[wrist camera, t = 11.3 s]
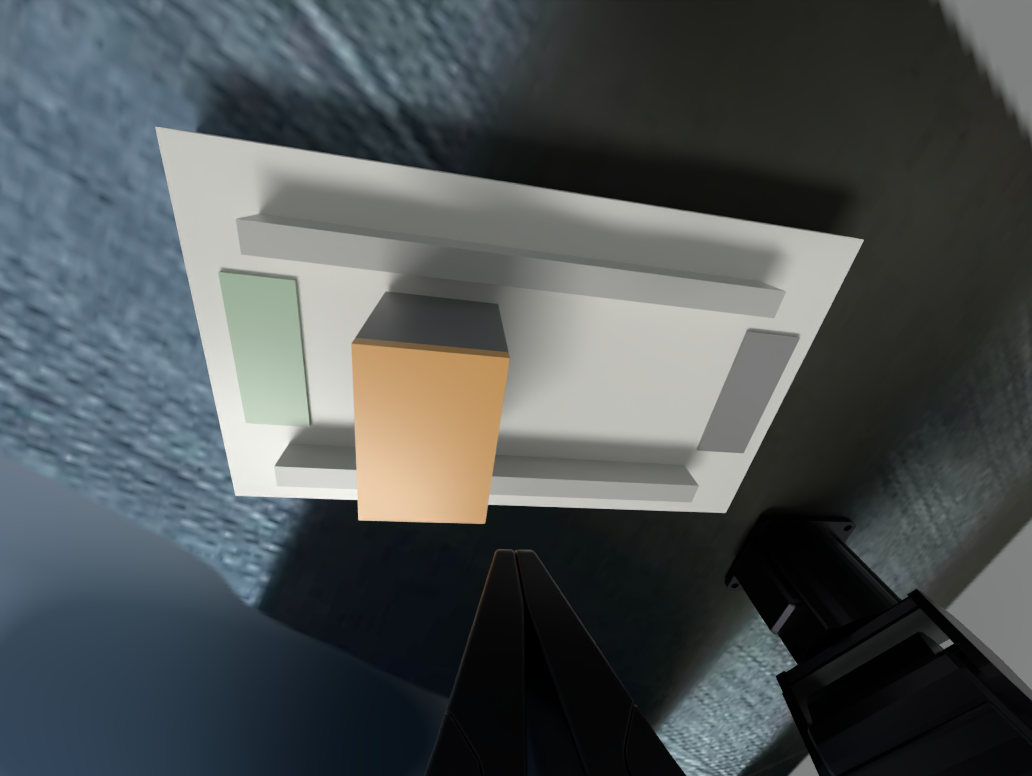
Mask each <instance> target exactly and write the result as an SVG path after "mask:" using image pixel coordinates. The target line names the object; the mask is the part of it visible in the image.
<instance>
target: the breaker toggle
mask: <svg viewBox="0 0 1032 776" xmlns="http://www.w3.org/2000/svg"><path fill="white" fill-rule="evenodd" d="M351 348H352V373H353V397H354V422H355V446H356V471H357V495H358V520H368V521H404V522H440V523H476V524H485V520H486V514H487V507H488V500H489V494H490V487H491V480H492V474H493V467H494V461H495V454H496V447H497V441H498V434H499V427H500V421H501V414H502V407H503V401H504V394H505V387H506V381H507V374H508V367H509V361H510V356H509V352H508V347H507V343H506V338H505V334H504V329H503V324H502V320H501V315H500V311H499V306H498V304H494V303H485V302H477V301H468V300H459V299H450V298H441V297H432V296H423V295H414V294H405V293H397V292H388V291H385V293H384V295H383V296H382V298H381V299H380V301H379V302H378V304H377V305H376V307H375V308H374V310H373V311H372V313H371V314H370V316H369V317H368V319H367V320H366V322H365V324H364V325H363V327H362V328H361V330H360V331H359V333H358V334H357V336H356V337H355V339H354V340H353V342H352V343H351Z"/></svg>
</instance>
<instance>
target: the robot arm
mask: <svg viewBox="0 0 1032 776" xmlns="http://www.w3.org/2000/svg"><path fill="white" fill-rule="evenodd" d="M855 526H856V525H855V523H854V522H853V521H852V520H850V519H849V518H845V517H816V516H788V515H766V516H763V517H762V518H760V520H759V521H758V523H757V524H756V526H755V528H754V530H753V531H752V533H751V535H750V537H749V539H748V540H747V542H746V544H745V546H744V547H743V549H742V551H741V553H740V555H739V556H738V558H737V560H736V562H735V564H734V565H733V567H732V569H731V571H730V572H729V574H728V576H727V578H726V580H725V585H726V586H727V588H728V589H729V590H732V591H745V592H746V594H747V595H748V597H749V599H750V600H751V602H752V603H753V605H754V606H755V608H756V609H757V611H758V612H759V614H760V615H761V617H762V619H763V620H764V622H765V623H766V625H767V626H768V628H769V629H770V631H771V632H772V633H773V634H778V635H779V637H780V638H781V640H782V641H783V643H784V644H785V646H786V647H787V649H788V650H789V652H790V653H791V655H792V656H793V658H794V660H795V661H796V663H797V664H798V665H797V666H795V667H794V668H792V669H790V670H789V671H787V672H785V671H783V672H782V673H780V674H778V675H777V676H776V678H777V680H778V683H779V685H780V687H781V689H782V692H783V693H782V694H783V697H784V699H785V701H786V703H787V705H788V708H789V710H790V712H791V714H792V717H793V719H794V721H795V723H796V725H797V728H798V730H799V732H800V734H801V736H802V739H803V741H804V743H805V745H806V748H807V750H808V752H809V754H810V756H811V759H812V761H813V763H814V765H815V767H816V770H817V772H818V774H819V776H1032V690H1031V689H1030V688H1029V687H1028V686H1027V685H1026V684H1025V683H1024V682H1023V681H1022V680H1021V679H1020V678H1019V677H1018V676H1017V675H1016V674H1015V673H1014V672H1013V671H1012V670H1011V669H1010V668H1009V667H1008V666H1007V665H1006V664H1005V663H1004V662H1003V661H1002V660H1001V659H1000V658H999V657H998V656H997V655H996V654H995V653H994V652H993V651H992V650H990V649H989V648H988V647H987V646H986V645H985V644H984V643H983V642H982V641H981V640H980V639H978V638H977V637H976V636H975V635H974V634H973V633H972V632H971V631H970V630H968V629H967V628H966V627H965V626H964V625H963V624H962V623H961V622H959V621H958V620H957V619H956V618H955V617H954V616H953V615H951V614H950V613H949V612H947V611H946V610H945V609H943V608H942V607H941V606H939V605H938V604H937V603H935V602H934V601H933V600H931V599H930V598H929V597H927V596H926V595H925V594H923V593H922V592H921V591H919V590H918V589H915V590H913V591H912V592H910V593H909V594H907V595H908V597H907V598H905V599H903V600H901V599H900V598H899V597H898V596H897V595H896V594H895V593H894V592H893V591H892V590H891V589H890V588H889V587H888V586H887V585H886V584H885V583H884V582H883V581H882V580H881V579H880V578H879V577H878V576H877V575H876V574H875V573H874V572H873V571H872V570H871V569H870V568H869V567H868V566H867V565H866V564H865V563H864V562H863V561H862V560H861V559H860V558H859V557H858V556H857V555H856V554H855V553H854V552H853V551H852V550H851V549H850V548H849V547H848V546H847V545H846V544H845V543H844V542H845V541H846V540H847V538H848V537H849V535H850V534H851V533H852V531H853V530H854V528H855ZM948 639H950V640H951V641H952V642H953V643H954V644H953V645H951V646H949V647H947V648H946V649H943V648H942V647H941V646H940V645H939V644H941V643H943V642H945V641H947V640H948ZM633 704H634V701H633V699H632V698H631V696H630V695H629V693H628V691H627V690H626V688H625V687H624V685H623V684H622V682H621V681H620V679H619V678H618V676H617V675H616V673H615V672H614V670H613V669H612V667H611V666H610V664H609V663H608V661H607V660H606V658H605V657H604V655H603V654H602V652H601V651H600V649H599V648H598V646H597V645H596V643H595V642H594V640H593V639H592V637H591V636H590V634H589V633H588V631H587V630H586V628H585V627H584V625H583V624H582V622H581V621H580V619H579V618H578V616H577V615H576V613H575V612H574V610H573V609H572V607H571V606H570V604H569V603H568V601H567V600H566V598H565V597H564V595H563V594H562V592H561V591H560V589H559V588H558V586H557V585H556V583H555V582H554V580H553V579H552V577H551V576H550V574H549V573H548V571H547V570H546V568H545V567H544V565H543V564H542V562H541V561H540V559H539V558H538V556H537V555H536V553H535V552H534V551H532V550H516V551H515V552H514V551H513V550H503V549H498V550H496V552H495V554H494V558H493V561H492V564H491V567H490V570H489V574H488V577H487V580H486V583H485V586H484V590H483V593H482V596H481V599H480V603H479V606H478V609H477V612H476V615H475V619H474V622H473V625H472V628H471V631H470V635H469V638H468V641H467V644H466V648H465V651H464V654H463V657H462V660H461V664H460V667H459V670H458V673H457V676H456V680H455V683H454V686H453V689H452V693H451V696H450V699H449V702H448V705H447V709H446V714H445V715H444V717H443V721H442V724H441V727H440V730H439V734H438V737H437V740H436V743H435V746H434V749H433V752H432V754H431V758H430V760H429V763H428V766H427V769H426V772H425V775H424V776H686V775H685V773H684V772H683V771H682V769H681V768H680V767H679V765H678V764H677V763H676V761H675V760H674V759H673V758H672V756H671V755H670V753H669V752H668V750H667V749H666V748H665V746H664V745H663V743H662V742H661V740H660V739H659V737H658V736H657V735H656V733H655V732H654V730H653V729H652V727H651V726H650V724H649V723H648V721H647V720H646V718H645V717H644V715H643V714H642V712H641V711H640V709H639V708H638V706H637V705H633Z"/></svg>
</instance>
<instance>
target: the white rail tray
mask: <svg viewBox="0 0 1032 776" xmlns="http://www.w3.org/2000/svg"><path fill="white" fill-rule="evenodd" d="M155 128H156V133H157V138H158V142H159V147H160V151H161V156H162V160H163V165H164V170H165V174H166V179H167V183H168V188H169V193H170V197H171V202H172V206H173V211H174V216H175V220H176V225H177V229H178V234H179V238H180V243H181V248H182V252H183V257H184V261H185V266H186V271H187V275H188V280H189V284H190V289H191V294H192V298H193V303H194V307H195V312H196V317H197V321H198V326H199V330H200V335H201V339H202V344H203V349H204V353H205V358H206V362H207V367H208V372H209V376H210V381H211V385H212V390H213V395H214V399H215V404H216V408H217V413H218V417H219V422H220V427H221V431H222V436H223V440H224V445H225V450H226V454H227V459H228V463H229V468H230V473H231V477H232V482H233V486H234V491H235V495H236V496H260V497H289V498H317V499H346V500H358V495H357V471H356V446H355V422H354V397H353V373H352V348H351V343H352V342H353V340H354V339H355V337H356V336H357V334H358V333H359V331H360V330H361V328H362V327H363V325H364V324H365V322H366V320H367V319H368V317H369V316H370V314H371V313H372V311H373V310H374V308H375V307H376V305H377V304H378V302H379V301H380V299H381V298H382V296H383V295H384V293H385V291H388V292H397V293H405V294H414V295H423V296H432V297H441V298H450V299H459V300H468V301H477V302H485V303H494V304H498V306H499V311H500V315H501V320H502V324H503V329H504V334H505V338H506V343H507V347H508V352H509V356H510V361H509V367H508V374H507V381H506V387H505V394H504V401H503V407H502V414H501V421H500V427H499V434H498V441H497V447H496V454H495V461H494V467H493V474H492V480H491V487H490V494H489V500H488V505H516V506H545V507H573V508H602V509H630V510H659V511H687V512H716V513H726V511H727V509H728V507H729V505H730V503H731V502H732V500H733V498H734V496H735V494H736V492H737V490H738V488H739V486H740V484H741V482H742V480H743V478H744V476H745V474H746V472H747V470H748V468H749V466H750V464H751V462H752V460H753V458H754V456H755V454H756V452H757V450H758V448H759V446H760V444H761V442H762V440H763V438H764V436H765V434H766V432H767V430H768V428H769V426H770V425H771V423H772V421H773V419H774V417H775V415H776V413H777V411H778V409H779V407H780V405H781V403H782V401H783V399H784V397H785V395H786V393H787V391H788V389H789V387H790V385H791V383H792V381H793V379H794V377H795V375H796V373H797V371H798V369H799V367H800V365H801V363H802V361H803V359H804V357H805V355H806V353H807V351H808V349H809V347H810V346H811V344H812V342H813V340H814V338H815V336H816V334H817V332H818V330H819V328H820V326H821V324H822V322H823V320H824V318H825V316H826V314H827V312H828V310H829V308H830V306H831V304H832V302H833V300H834V298H835V296H836V294H837V292H838V290H839V288H840V286H841V284H842V282H843V280H844V278H845V276H846V274H847V272H848V270H849V269H850V267H851V265H852V263H853V261H854V259H855V257H856V255H857V253H858V251H859V249H860V247H861V245H862V243H863V241H864V240H862V239H857V238H852V237H846V236H841V235H835V234H830V233H825V232H819V231H812V230H806V229H800V228H794V227H787V226H781V225H775V224H769V223H762V222H756V221H750V220H744V219H737V218H731V217H725V216H719V215H712V214H706V213H700V212H694V211H687V210H681V209H675V208H669V207H662V206H656V205H650V204H644V203H637V202H631V201H625V200H619V199H612V198H606V197H600V196H594V195H588V194H581V193H575V192H569V191H563V190H556V189H550V188H544V187H538V186H531V185H525V184H519V183H513V182H506V181H500V180H494V179H488V178H481V177H475V176H469V175H463V174H456V173H450V172H444V171H438V170H431V169H425V168H419V167H413V166H406V165H400V164H394V163H388V162H381V161H375V160H369V159H363V158H356V157H350V156H344V155H338V154H331V153H325V152H319V151H313V150H306V149H300V148H294V147H288V146H281V145H275V144H269V143H263V142H256V141H250V140H244V139H238V138H231V137H225V136H219V135H213V134H206V133H200V132H194V131H186V130H178V129H170V128H162V127H155Z"/></svg>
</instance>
